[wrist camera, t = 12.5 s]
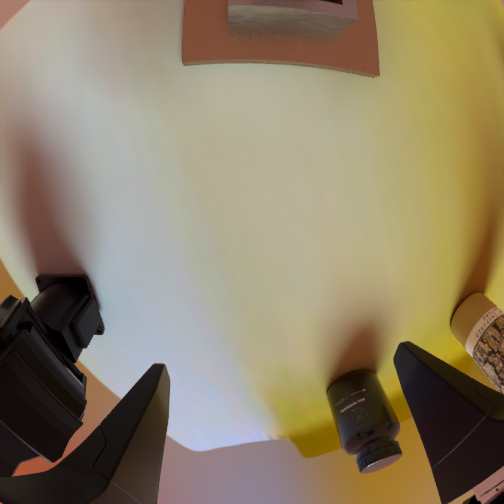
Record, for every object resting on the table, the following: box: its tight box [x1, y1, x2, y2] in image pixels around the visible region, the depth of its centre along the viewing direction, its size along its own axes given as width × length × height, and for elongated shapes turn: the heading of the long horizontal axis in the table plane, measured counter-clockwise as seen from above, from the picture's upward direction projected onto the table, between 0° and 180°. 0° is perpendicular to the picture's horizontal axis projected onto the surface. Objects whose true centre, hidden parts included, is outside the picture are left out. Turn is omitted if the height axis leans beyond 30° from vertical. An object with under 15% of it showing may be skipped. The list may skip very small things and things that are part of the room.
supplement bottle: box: [327, 370, 402, 474], centre depth 25 cm, size 7×7×12 cm
